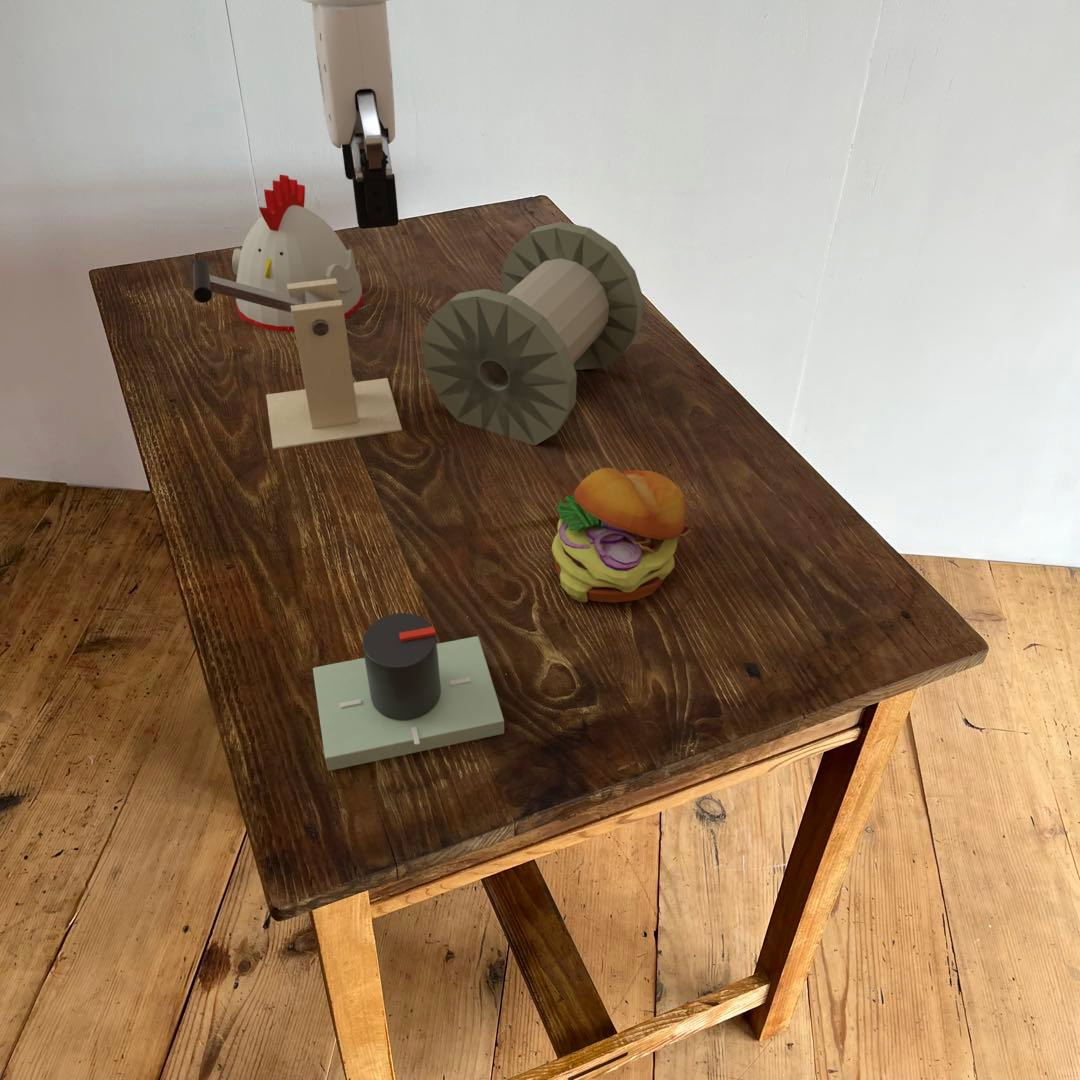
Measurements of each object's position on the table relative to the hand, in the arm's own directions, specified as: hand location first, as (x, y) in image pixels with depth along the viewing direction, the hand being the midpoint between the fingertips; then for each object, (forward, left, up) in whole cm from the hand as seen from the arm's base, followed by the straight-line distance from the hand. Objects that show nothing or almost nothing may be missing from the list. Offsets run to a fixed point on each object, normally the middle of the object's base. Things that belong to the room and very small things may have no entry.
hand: (371, 200), depth 84 cm
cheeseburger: (+14, -25, -22) cm, 36 cm away
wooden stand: (-6, +1, -22) cm, 23 cm away
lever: (-10, +1, -9) cm, 14 cm away
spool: (+14, 0, -22) cm, 26 cm away
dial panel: (-5, -37, -22) cm, 43 cm away
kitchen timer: (-7, +24, -22) cm, 33 cm away
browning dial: (-5, -37, -19) cm, 42 cm away
